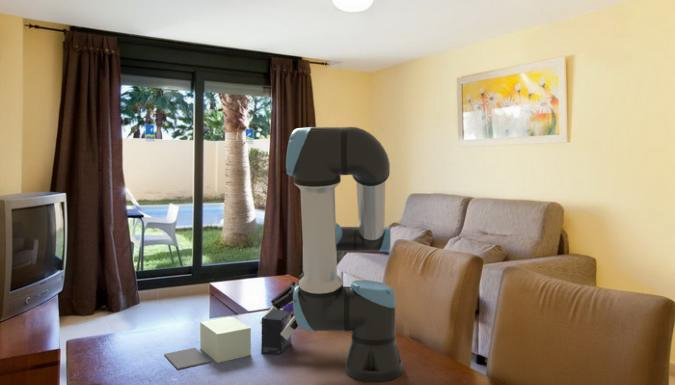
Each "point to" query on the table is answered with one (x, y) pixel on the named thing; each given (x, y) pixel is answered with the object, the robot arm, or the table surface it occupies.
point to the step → (225, 339)
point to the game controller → (289, 307)
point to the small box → (275, 331)
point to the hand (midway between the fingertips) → (272, 331)
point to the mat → (186, 358)
